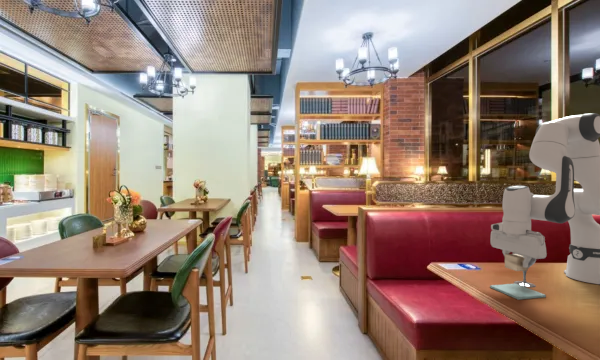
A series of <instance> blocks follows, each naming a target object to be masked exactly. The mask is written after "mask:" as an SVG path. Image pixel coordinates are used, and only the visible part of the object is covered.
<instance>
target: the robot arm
mask: <svg viewBox="0 0 600 360" xmlns="http://www.w3.org/2000/svg"><path fill="white" fill-rule="evenodd" d="M599 138H600V114H598V113H594V112H592V113H591V112H590V113H586V112H585V113H583V114H575V115H569V116H564V117H562V118H557V119H553V120H547V121H544V122H543V123H539V125H538V127H537V128H536V130H535V136H534V137H533V140H532V143H531V146H530V149H529V152H528V153H529V154H528V157H529V160H530V161H531V162H532V164H533V165H535V166H537V167H539V168H540V169H542V170H546V171H548V172H552V173H555V175H556V177H555V192H554V193H553V194H550V195H548V194H534V193H533V192H531V190H530V187H529V186H526V185H510V186H507V187H505V189H504V190H503V194H502V195H503V196H502V212H503V216H502V222H497V223H493V224H491V225H490V229H491V232H490V245H491V247H492V248H496V249H500V250H501V251H502V254H503V257H505V254H511V253H512V254H513V253H517V254H521V255H523V258H525V259H524V260H523V262H520V264H521V265H520V266H521V267H524V268H527V267H528V263H529V261H530V260H531V257H532V258H536V260H539V259H540V260H541V259H542V260H543V259H546V257H547V254H548V253H547V246H546V242H545V241H546V239H545V238H546V237H545V236H544V235H543V234H542V233H541V232H539V231H533V230H532V220H535V221H536V220H539V221H546V222H551V223H556V224H564V223H568V224H569V229H570V230H569V231H570V244H569V247H568V249H569V253H570V254H569V255H567V261H566V267H565V268H566V269H564V270H563V273H564V274H565V276H566V277H568V278H570V279H572V280H577V281H579V282H585V283H589V284H594V285H595V284H596V285H600V224H599V223H598V222H597V221H596V220H595V218H594V216H593V215H595V216H600V141H599ZM575 181H576V182H577V183H579V184H580V186H581V188H575V186H574V185H575Z"/></svg>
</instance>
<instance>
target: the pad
mask: <svg viewBox="0 0 600 360" xmlns="http://www.w3.org/2000/svg"><path fill="white" fill-rule="evenodd" d="M489 287H490V288H491V289H492V290H495V291H496V292H497V291H498V292H499V293H501V294H505V295H507V296H509V297H511V298H513V299H516V300H518V301H519V300H530V299H531V300H532V299H541V298H546V297H547V295H546V294H545V293H542V292H539V291H538V290H537V291H536V290H534V289H532V288H530V287H524V286H521V285H518V284H516V283H505V284H490V285H489Z"/></svg>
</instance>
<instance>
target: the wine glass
mask: <svg viewBox="0 0 600 360" xmlns="http://www.w3.org/2000/svg"><path fill="white" fill-rule="evenodd" d="M512 254H517V253H513V252H512ZM518 255H521V254H518ZM522 256H523V255H522ZM536 261H537V259H536V258H532V257H531V260H530V261H529V263H528V269H529V268H531V267H532V266H533V265H535V263H536ZM522 274H523V277H522V278H523V280H521V281H520V280H516V281H513V284H515V283H516V284H518V285H521V286H524V287H526V288H537V287H536V286H537V285H536V284H534V283H533V282H532V283H531V282H528V281H527V279H526V278H527V271H522Z"/></svg>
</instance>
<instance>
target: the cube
mask: <svg viewBox="0 0 600 360" xmlns="http://www.w3.org/2000/svg"><path fill="white" fill-rule="evenodd" d="M524 259H525V258H523V256H522V255H518V254H513V253H509V254H505V256H504V268H506V269H509V270H512V271H515V272H523V271H528V270H529V268H528V267H527V268H524V267H521V266H520V265H521V264H520V262H523V260H524Z"/></svg>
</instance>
